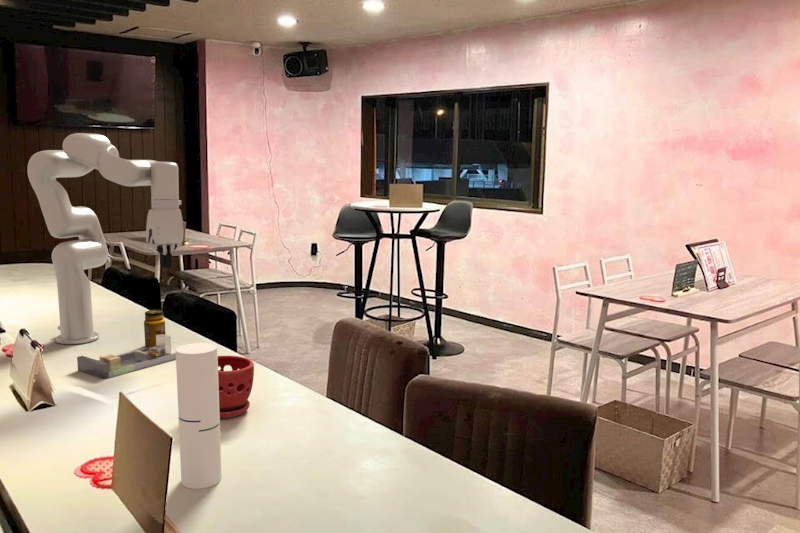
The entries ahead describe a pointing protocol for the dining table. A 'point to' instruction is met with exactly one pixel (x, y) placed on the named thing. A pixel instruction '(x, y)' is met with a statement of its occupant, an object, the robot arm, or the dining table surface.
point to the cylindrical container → (198, 415)
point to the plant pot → (234, 385)
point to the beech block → (111, 361)
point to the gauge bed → (127, 364)
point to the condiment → (153, 326)
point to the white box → (162, 347)
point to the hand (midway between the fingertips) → (166, 267)
